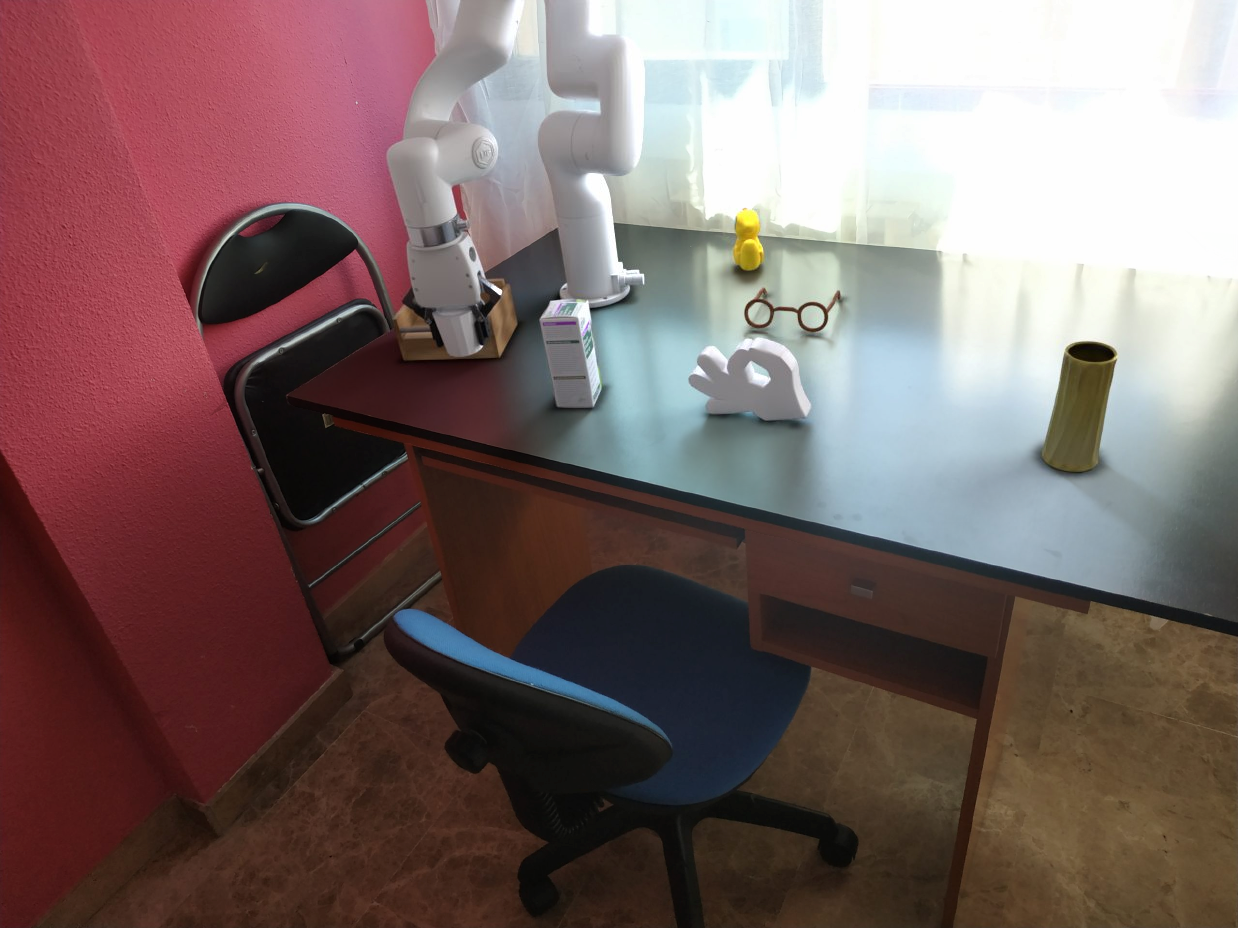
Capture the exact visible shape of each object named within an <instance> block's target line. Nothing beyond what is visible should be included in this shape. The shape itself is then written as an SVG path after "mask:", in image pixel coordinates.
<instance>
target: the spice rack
mask: <svg viewBox="0 0 1238 928" xmlns="http://www.w3.org/2000/svg"><path fill="white" fill-rule="evenodd" d="M486 280H488V281H489V282H490V283H492V284H493V285H495V286H496V287H497V288H499V289H500V290H501V291H502V292H503V295H502V296H501V298H500V300H499V301H498V302H497V304H496V305H495V306H494V307H493V309H492V310H491V311H490V313H489V314H488V315H487V317H488V321H489V325H490V329H491V336H490V337H489V338H488V340H487V342H486V344H485V345H484V346H483V347H482V348H481V349H480V350H479V351H478V352H476V353H474V354H471V355H468V356H463V357H455V356H451V355H449V354H448V353H447V350H446V348H445V345H443V346H442V347H439V348H438V347H437V344H436V340H434V339H433V337H432V333H431V330H430V326H429V324H426V323H425V321H424V319H423V318H421V317H420V316H418V315H417V314H416V313H414V310H411V309H410V308H409V307H407V306H406V305H404V304H403V305H402V306H401V308H399V310H398V311H397V312H396V314H394V316H393V317H392V319H391V321H392V325H393V329H394V332H395V336H396V339H397V343H398V346H399V350H400V353H401V355H402V360H403V361H431V360H432V361H434V360H435V361H436V360H437V361H438V360H467V359H468V360H469V359H494V358H496V359H500V358H501V356H502V354H503V352H504V351H505V348H506V347H507V345H508V342H509V341H510V339H511V337H512V335H513V333H514V331H515V329H516V328H517V326H518V319H517V315H516V309H515V304H514V299H513V295H512V289H511V288H512V287H511V285H510V283H505V278H504V277H503V278H486ZM480 297H481V298H482V300H483V301H484V303H486V302H487V300H488V299H489V298H490V296H489V295H488V294H486V293H485V292H484V293H482V294H480Z"/></svg>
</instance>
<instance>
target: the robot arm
mask: <svg viewBox="0 0 1238 928" xmlns="http://www.w3.org/2000/svg"><path fill="white" fill-rule="evenodd" d="M525 2H526V0H459V4H458V8H457V12H456V15H455V20H454V24H453V29H452V33H451V34H450V35H451V36H450V38H449V40H448V41H447V43H445V45H444V46H443V47H442V48H441V50H440V51H439V52H438V53H437V54H436V56H434V58H433V60H431V62H430V63H429V65H428V66H427V68H426V69H425V70H424V72H423V74H422V75H421V76H420V78H419V79H418V80H417V83H416V85H415V87H414V89H413V91H412V94H411V97H410V100H409V104H408V108H407V113H406V116H405V122H404V125H403V132H402V133H403V134H402V140H400V141H398V142H395V143H394V144H392V145H390V146H389V148H388V149H387V151H386V155H385V156H386V157H385V158H386V163H387V168H388V172H389V174H390V175H389V176H390V177H391V178H390V179H391V182H392V185H393V189H394V193H395V195H396V199H397V202H398V203H397V204H398V206H399V209H400V213H401V216H402V219H403V223H404V227H405V232H406V234H407V238H408V241H407V243H406V259H407V267H408V274H409V279H410V285H411V286H410V288H409V289H408V290H407V292H406V293H405V295H404V296H403V298H402V300H401V303H402V304H403V305H406V306H407V307H409V308H410V309H411V310H414V313H416V314H417V315H418V316H420V317H421V318H423V319H424V321H425V323H426V324H429V326H430V330H431V333H432V337H433V339H434V340H436V344H437V347H438V348H439V347H442V346H443V345H444V342H443V340H442V337H441V335H440V332H439V330H438V327H437V325H436V322H435V319H434V317H433V314H432V313H433V312H434V311H435V308H441V307H459V306H468V308H469V309H470V310H471V311H472V313H473V315H474V316H475V318H476V322H475V323H474V324H475V329H476V333H477V336H478V340H479V344H480V345H481V346H484V345H485V344H486V342H487V340H488V338H489V337H490V336H491V329H490V325H489V321H488V317H487V315H488V314H489V313H490V311H491V310H492V309H493V307H494V306H495V305H496V304H497V302H498V301H499V300H500V298H501V296H502V295H503V292H502V291H501V290H500V289H499V288H497V287H496V286H495V285H493V284H492V283H490V282H489V281H488V280H486V279H487V278H486V274H485V272H484V269H483V265H482V263H481V259H480V257H479V254H478V252H477V249H476V247H475V244H474V242H473V239H472V238H471V236H470V233H469V232H468V230H470V226H471V225H470V220H469V219H463V218H461V216H460V213H458V210H457V206H456V202H455V198H454V193H453V190H452V189H453V188H454V186H458V185H461V184H464V183H465V184H466V183H469V182H473V181H476V180H478V179H481V178H484V177H485V176H486V175H488V174H489V173H490V172H491V171H492V170H493V169H494V168H495V165H496V163H497V161H498V158H499V145H498V141H497V139H496V137H495V136H494V134H493V132H491V131H490V130H489V129H488V128H486V127H485V126H483V125H481V124H477V123H473V122H464V121H455V120H450V117H451V114H452V112H453V110H454V107H455V106H456V104H457V103H458V101H459V100H460V98H461V97H462V96H463V94H465V93H466V91H468V90H469V89H470V88H471V87H472V86H474V85H475V84H477V83H479V82H480V81H481V80H484V79H485V78H487V77H488V76H490V75H492V74H494V73H495V72H497V71H498V70H500V69H502V68H503V67H504V66H506V65H507V64H508V63H509V61H511V57H512V55H513V50H514V46H515V42H516V38H517V33H518V30H519V26H520V22H521V18H522V14H523V9H524V6H525ZM543 2H544V10H545V13H544V14H545V45H546V47H545V49H546V52H545V53H546V54H545V55H546V78H547V85H548V87H549V89H550V90H551V92H552V93H553V94H554V95H555V96H557V97H559V98H561V99H565V100H572V101H583V102H598V103H599V106H600V107H599V108H600V110H593V109H577V108H576V109H575V108H565V109H558V110H555V111H553V112H551V113H550V114H548V115H547V116H546V117H545V118H544V119H543V120H542V122H541V123H540V125H539V128H538V133H537V146H538V151H539V154H540V158H541V161H542V163H543V166H544V169H545V171H546V174H547V177H548V181H549V186H550V189H551V194H552V199H553V205H554V211H555V218H556V219H555V220H556V224H557V225H556V226H557V232H558V238H559V244H560V250H561V256H562V263H563V268H564V274H565V280H566V283H564V284H563V285H562V286H561V288H560V289H559V298H560V300H565V299H581V300H587V301H588V304H589V309H593V308H601V307H606V306H609V305H612V304H615V303H617V302H620V301H621V300H623V299H625V297H626V296H627V295H628V294H629V293H630V290H631V286H645V274H644V273H640V270H639V269H631V270H627V269H626V268H624V267H623V266H624V265H623V261H619V258H618V250H617V243H616V236H615V228H614V227H615V226H614V219H613V210H612V202H611V195H610V194H611V193H610V190H609V187H608V185H607V182H606V180H605V178H604V176H609V177H622V176H626V175H629V174H630V173H632V172H633V171H634V170H635V169H636V167H637V165H638V163H639V161H640V159H641V155H642V148H643V138H644V110H645V66H644V60H643V58H642V54H641V52H640V49H639V47H638V46H637V45H636V43H635V42H634V41H633V40H632V39H631V38H629V37H627V36H624V35H620V34H602V17H601V16H602V14H601V13H602V12H601V0H543ZM466 230H467V231H466ZM484 292H485V293H486V294H488V295H489V296H490V298H489V299H488V300H487V302H486V303H484V301H483V300H482V298H481V297H480V294H482V293H484Z"/></svg>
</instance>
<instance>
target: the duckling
mask: <svg viewBox="0 0 1238 928" xmlns="http://www.w3.org/2000/svg"><path fill="white" fill-rule="evenodd" d="M733 229H734V233H735V235H736V237H737V239H736V241H735V245H734V246H733V249H732V256H733V261H734V263H735V264H736V265H737V266H739V267H740V268H741V269H742V270H744V271H755V270H757V269H758V268H759V266H760V264H763V262H764V260H765V253H764V248H763V244H761V242H760V239H759V238H758V235H759V234H760V231H761V219H760V217H759V214H758V213H757V212H756V211H754V210H752V209H748V208H747V207H743V208H742V209H741V210H740V211H739V212H738V213H737V214H736V216H735V218H734V221H733Z"/></svg>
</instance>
